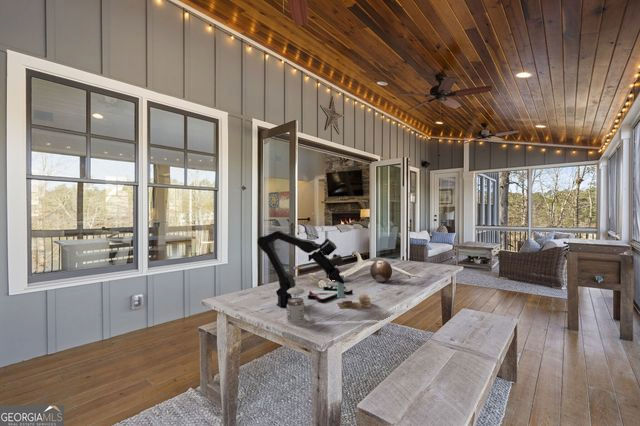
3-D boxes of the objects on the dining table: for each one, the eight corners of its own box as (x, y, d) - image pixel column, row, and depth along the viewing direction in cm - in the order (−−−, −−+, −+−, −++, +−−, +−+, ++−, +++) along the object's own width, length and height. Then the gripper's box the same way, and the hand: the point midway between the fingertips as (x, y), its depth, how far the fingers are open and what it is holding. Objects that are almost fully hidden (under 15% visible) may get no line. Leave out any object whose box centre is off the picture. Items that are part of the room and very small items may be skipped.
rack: (339, 311, 152) (339, 300, 152) (337, 305, 162) (337, 294, 162) (371, 310, 153) (371, 299, 153) (366, 304, 163) (366, 293, 163)
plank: (337, 297, 156) (338, 276, 156) (337, 296, 158) (337, 275, 158) (343, 297, 156) (344, 276, 156) (342, 296, 158) (343, 275, 158)
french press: (284, 325, 134) (284, 268, 133) (285, 316, 145) (285, 263, 145) (306, 325, 134) (306, 268, 134) (306, 315, 146) (306, 263, 145)
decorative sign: (356, 288, 183) (325, 300, 160) (356, 294, 183) (325, 307, 160) (331, 283, 194) (299, 294, 171) (331, 289, 195) (299, 300, 171)
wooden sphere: (370, 283, 207) (370, 261, 207) (369, 278, 222) (369, 258, 222) (393, 284, 205) (393, 262, 205) (391, 279, 220) (391, 258, 219)
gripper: (336, 252, 147) (358, 275, 148) (331, 247, 166) (351, 267, 167) (319, 269, 146) (342, 291, 148) (316, 261, 165) (336, 282, 166)
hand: (343, 282), depth 157 cm, fingers closed on plank, 2 cm apart
